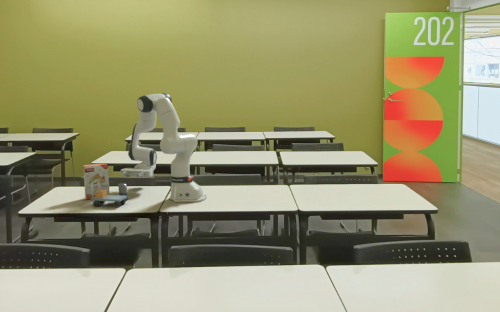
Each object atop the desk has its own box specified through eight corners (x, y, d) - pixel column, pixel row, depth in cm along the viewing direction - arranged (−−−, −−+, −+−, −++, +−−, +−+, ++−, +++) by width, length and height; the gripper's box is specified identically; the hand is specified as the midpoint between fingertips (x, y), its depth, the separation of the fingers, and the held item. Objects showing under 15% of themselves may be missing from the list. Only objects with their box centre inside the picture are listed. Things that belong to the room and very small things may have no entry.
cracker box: (86, 200, 288) (84, 166, 285) (85, 198, 293) (82, 164, 290) (110, 197, 295) (108, 164, 291) (108, 195, 300) (106, 162, 296)
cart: (127, 203, 279) (126, 179, 277) (120, 207, 271) (118, 183, 268) (99, 202, 283) (98, 178, 281) (91, 206, 275) (89, 182, 272)
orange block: (107, 195, 279) (107, 189, 278) (103, 197, 274) (102, 192, 274) (99, 195, 280) (99, 189, 280) (95, 197, 275) (94, 191, 275)
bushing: (129, 199, 289) (128, 183, 287) (125, 201, 284) (124, 185, 282) (121, 199, 290) (120, 183, 288) (117, 201, 285) (116, 184, 283)
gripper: (126, 164, 311) (115, 169, 298) (155, 166, 307) (145, 170, 294) (126, 174, 313) (116, 179, 299) (155, 175, 308) (146, 180, 295)
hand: (131, 174), depth 296 cm, fingers open, 8 cm apart
